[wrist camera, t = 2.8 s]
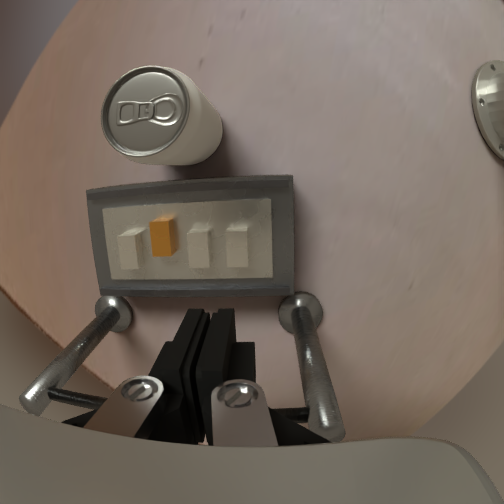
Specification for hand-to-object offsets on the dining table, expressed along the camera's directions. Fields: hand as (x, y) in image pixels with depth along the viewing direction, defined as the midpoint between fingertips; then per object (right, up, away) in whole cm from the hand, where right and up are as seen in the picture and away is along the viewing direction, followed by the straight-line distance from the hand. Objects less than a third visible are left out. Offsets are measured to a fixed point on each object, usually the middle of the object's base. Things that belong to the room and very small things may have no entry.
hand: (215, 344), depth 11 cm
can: (-4, +15, +16) cm, 22 cm away
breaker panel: (-4, +5, +19) cm, 20 cm away
